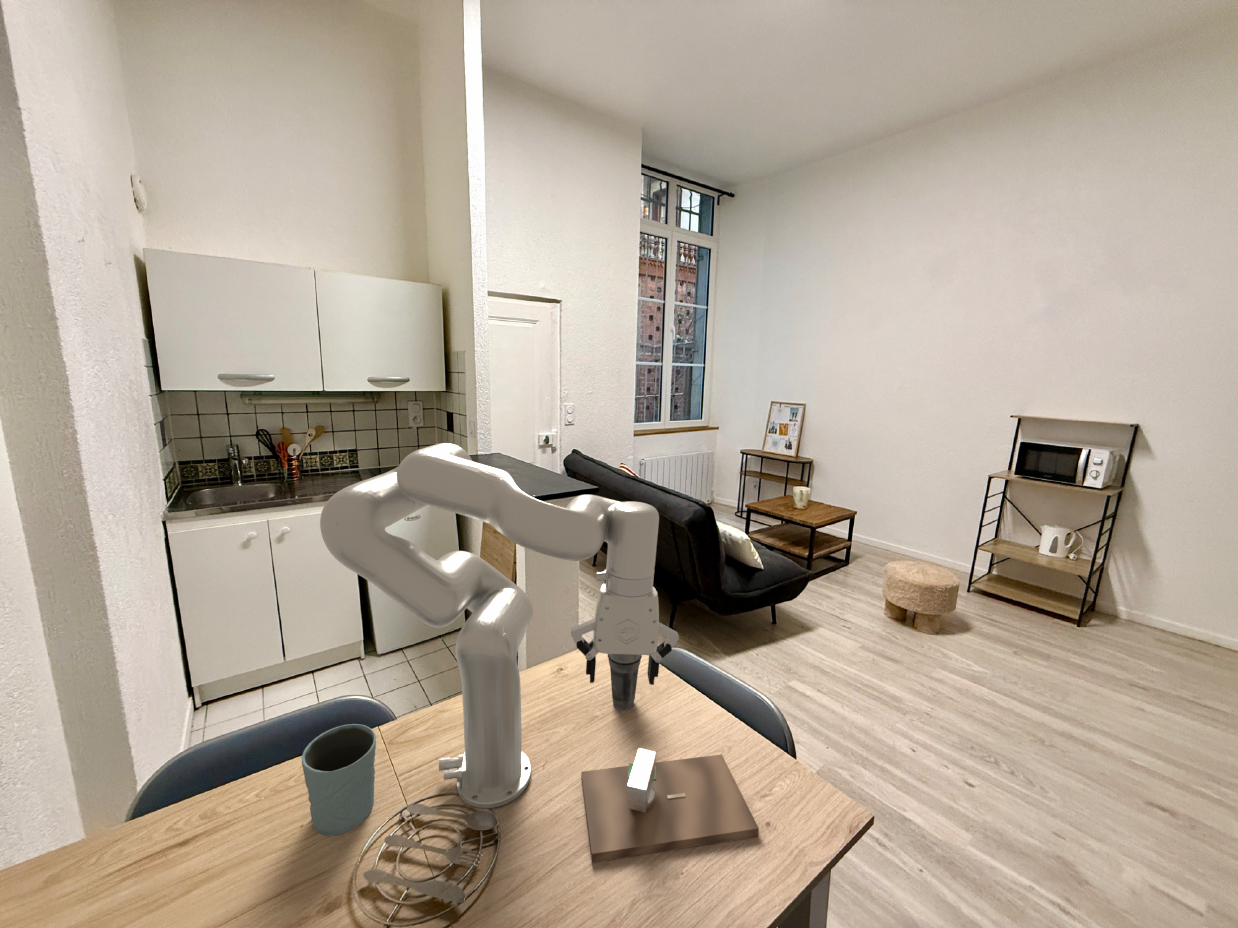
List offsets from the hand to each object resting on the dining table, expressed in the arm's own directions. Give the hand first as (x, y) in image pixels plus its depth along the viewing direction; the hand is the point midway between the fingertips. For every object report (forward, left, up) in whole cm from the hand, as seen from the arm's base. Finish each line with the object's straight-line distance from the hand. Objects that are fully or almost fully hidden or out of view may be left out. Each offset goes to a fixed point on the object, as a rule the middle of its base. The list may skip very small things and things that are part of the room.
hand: (621, 678), depth 79 cm
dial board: (+7, -4, -21) cm, 23 cm away
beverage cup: (+5, +22, -21) cm, 31 cm away
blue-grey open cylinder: (-44, +3, -21) cm, 49 cm away
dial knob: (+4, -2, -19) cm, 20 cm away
